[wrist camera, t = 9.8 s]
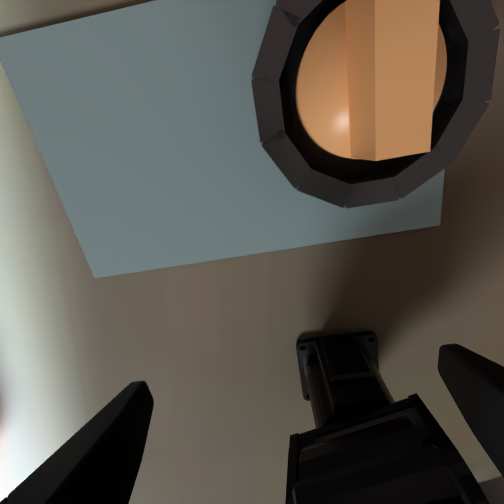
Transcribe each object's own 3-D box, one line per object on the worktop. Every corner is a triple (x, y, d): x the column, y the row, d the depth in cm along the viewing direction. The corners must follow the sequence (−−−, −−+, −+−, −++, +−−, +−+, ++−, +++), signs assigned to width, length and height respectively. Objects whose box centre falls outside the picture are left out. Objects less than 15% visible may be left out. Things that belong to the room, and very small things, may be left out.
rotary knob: (422, 146, 14) (491, 146, 10) (301, 167, 15) (318, 176, 11) (430, -8, 12) (525, -91, 8) (286, 24, 12) (300, -37, 8)
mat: (436, 223, 19) (440, 225, 18) (97, 275, 21) (94, 278, 20) (459, -68, 13) (465, -74, 13) (-3, 42, 15) (-9, 39, 15)
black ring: (431, 177, 17) (479, 187, 13) (269, 205, 18) (272, 220, 14) (445, -35, 13) (517, -103, 10) (240, 12, 14) (234, -34, 11)
